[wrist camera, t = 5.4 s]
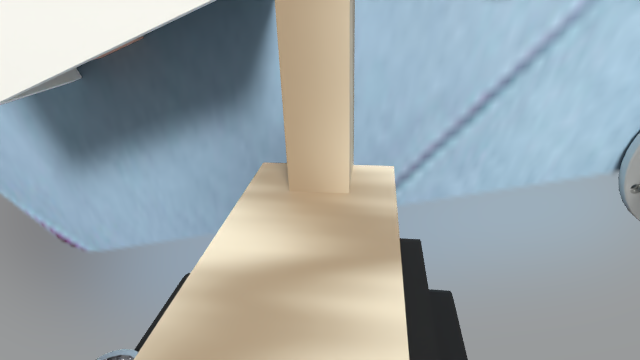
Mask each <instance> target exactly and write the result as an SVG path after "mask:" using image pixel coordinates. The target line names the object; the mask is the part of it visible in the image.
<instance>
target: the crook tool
mask: <svg viewBox="0 0 640 360" xmlns="http://www.w3.org/2000/svg"><path fill="white" fill-rule="evenodd" d="M275 9H276V22H277V35H278V49H279V62H280V75H281V88H282V102H283V115H284V128H285V142H286V155H287V163H263V164H262V166H261V167H260V169H259V170H258V172H257V173H256V175H255V176H254V178H253V179H252V181H251V182H250V184H249V185H248V187H247V188H246V190H245V191H244V193H243V194H242V196H241V197H240V199H239V201H238V202H237V204H236V205H235V207H234V208H233V210H232V211H231V213H230V214H229V216H228V217H227V219H226V220H225V222H224V223H223V225H222V226H221V228H220V229H219V231H218V232H217V234H216V235H215V237H214V238H213V240H212V242H211V243H210V245H209V246H208V248H207V249H206V251H205V252H204V254H203V255H202V257H201V258H200V260H199V261H198V263H197V264H196V266H195V267H194V269H193V271H192V272H191V273H190V275H189V276H188V278H187V279H186V281H185V283H184V284H183V286H182V287H181V289H180V290H179V292H178V293H177V295H176V296H175V298H174V299H173V301H172V302H171V304H170V305H169V307H168V308H167V310H166V311H165V313H164V314H163V316H162V317H161V319H160V320H159V322H158V323H157V325H156V327H155V328H154V330H153V331H152V333H151V334H150V336H149V337H148V339H147V340H146V342H145V343H144V345H143V346H142V348H141V349H140V351H139V352H138V354H137V355H136V357H135V358H134V360H409V350H408V337H407V325H406V312H405V300H404V288H403V275H402V263H401V250H400V238H399V226H398V213H397V201H396V188H395V176H394V166H369V165H353V149H354V23H355V0H275Z"/></svg>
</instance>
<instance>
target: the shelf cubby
mask: <svg viewBox="0 0 640 360" xmlns="http://www.w3.org/2000/svg"><path fill="white" fill-rule="evenodd" d="M214 1H216V0H0V105H2V104H5V103H8V102H12V101H15V100H18V99H21V98H24V97H27V96H30V95H34V94H37V93H40V92H43V91H46V90H49V89H53V88H56V87H59V86H62V85H65V84H68V83H72V82H74V81H76V80H78V79H80V78H82V76H81V75H80V73H79V72H78V70H77V68H76V67H78V66H80V65H82V64H84V63H87V62H89V61H91V60H93V59H95V58H97V57H99V56H101V55H103V54H105V53H107V52H110V51H112V50H114V49H116V48H118V47H120V46H122V45H124V44H126V43H128V42H130V41H132V40H135V39H137V38H139V37H141V36H143V35H145V34H147V33H149V32H151V31H153V30H155V29H158V28H160V27H162V26H164V25H166V24H168V23H170V22H172V21H174V20H176V19H178V18H181V17H183V16H185V15H187V14H189V13H191V12H193V11H195V10H197V9H199V8H201V7H204V6H206V5H208V4H210V3H212V2H214Z"/></svg>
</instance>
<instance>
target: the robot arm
mask: <svg viewBox="0 0 640 360" xmlns="http://www.w3.org/2000/svg"><path fill="white" fill-rule="evenodd" d="M619 191H620V195H621V198H622V201H623V203H624V204H625V206H626V207H627V209H628V210H629V211H630V212H631V213H632V214H633V215H634V216H635V217H636V218H637V219H638V220H639V221H640V133H639V134H638V135H637V136H636V138H635V139H634V141H633V142H632V144H631V145H630V147H629V148H628V150H627V152H626V154H625V156H624V159H623V161H622V163H621V168H620V173H619ZM400 250H401V263H402V275H403V288H404V300H405V312H406V325H407V337H408V350H409V360H468V359H467V355H466V351H465V346H464V342H463V338H462V334H461V329H460V325H459V321H458V317H457V312H456V308H455V304H454V300H453V296H452V293H451V292H450V291H443V290H429V289H428V283H427V277H426V271H425V265H424V258H423V252H422V246H421V241H420V239H401V238H400ZM189 275H190V273H188V274H186V275H185V276H184V277H183V278H182V280H181V281H180V283H179V285H178V286H177V288H176V289H175V291H174V292H173V293H172V295H171V296H170V298H169V299H168V301H167V302H166V304H165V305H164V307H163V308H162V310H161V311H160V313H159V314H158V316H157V317H156V319H155V320H154V322H153V323H152V325H151V326H150V327H149V329H148V330H147V332H146V333H145V335H144V337H143V338H142V339H141V341H140V343H139V344H138V345H137V347H136V348H135V350H130V349H122V350H116V351H112V352H110V353H107V354H105V355H103V356H101V357H99V358H97V359H96V360H134V358H135V357H136V355H137V354H138V352H139V351H140V349H141V348H142V346H143V345H144V343H145V342H146V340H147V339H148V337H149V336H150V334H151V333H152V331H153V330H154V328H155V327H156V325H157V323H158V322H159V320H160V319H161V317H162V316H163V314H164V313H165V311H166V310H167V308H168V307H169V305H170V304H171V302H172V301H173V299H174V298H175V296H176V295H177V293H178V292H179V290H180V289H181V287H182V286H183V284H184V283H185V281H186V279H187V278H188V276H189Z"/></svg>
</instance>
